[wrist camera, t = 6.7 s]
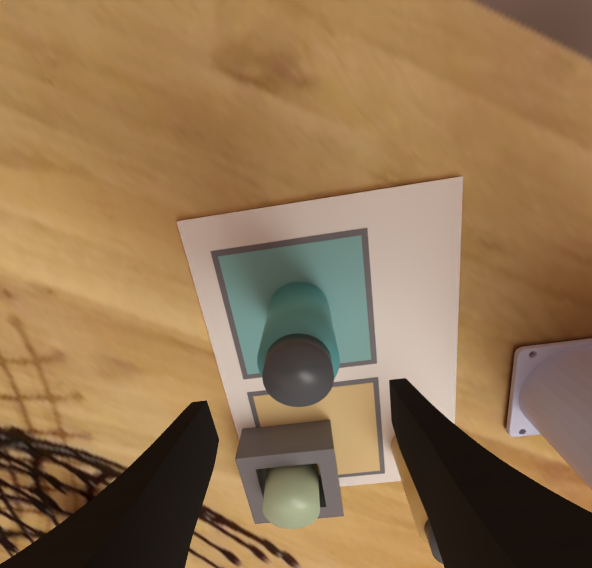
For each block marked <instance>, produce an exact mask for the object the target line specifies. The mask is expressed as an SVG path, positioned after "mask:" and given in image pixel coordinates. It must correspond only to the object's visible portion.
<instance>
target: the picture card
mask: <svg viewBox="0 0 592 568" xmlns="http://www.w3.org/2000/svg"><path fill="white" fill-rule="evenodd" d="M462 194H463V176H460V177H454V178H447V179H441V180H435V181H428V182H422V183H416V184H409V185H403V186H397V187H390V188H384V189H377V190H371V191H365V192H358V193H352V194H346V195H339V196H333V197H327V198H320V199H314V200H308V201H301V202H295V203H289V204H282V205H276V206H270V207H263V208H257V209H250V210H244V211H238V212H231V213H225V214H219V215H212V216H206V217H200V218H193V219H187V220H181V221H177V225H178V229H179V232H180V236H181V239H182V243H183V246H184V250H185V253H186V257H187V260H188V264H189V267H190V271H191V274H192V278H193V281H194V285H195V288H196V292H197V295H198V299H199V302H200V306H201V309H202V313H203V316H204V319H205V323H206V326H207V330H208V333H209V337H210V340H211V344H212V347H213V351H214V354H215V358H216V361H217V365H218V368H219V372H220V375H221V379H222V382H223V386H224V389H225V393H226V396H227V400H228V403H229V407H230V410H231V413H232V417H233V420H234V424H235V427H236V431H237V434H238V438H239V440H240V436H241V432H242V429H243V428H252V427H266V426H275V425H284V424H293V423H303V422H312V421H321V420H330V421H331V428H332V435H333V442H334V449H335V455H336V462H337V469H338V476H339V483H340V487H341V486H351V485H362V484H373V483H383V482H394V481H401V478H400V475H399V472H398V469H397V466H396V463H395V460H394V457H393V453H392V450H391V441H392V439H393V437H394V436H395V432H394V429H393V425H392V422H391V405H390V388H389V380H393V379H402V378H406V379H407V380H408V381H409V382H410V383H411V384H412V385H413V386H414V387H415V388H416V389H417V390H418V391H419V392H420V393H421V394H422V395H423V396H424V397H425V398H426V399H427V400H428V401H429V402H430V403H431V404H432V405H433V406H435V407H436V408H437V409H438V410H439V411H440V412H441V413H442V414H443V415H445V416H446V417H447V418H448V419H449V420H450V421H451V422H452V423H454V424H455V398H456V369H457V340H458V311H459V282H460V252H461V223H462ZM292 282H306V283H309V284H312V285H314V286H316V287H317V288H319V289H320V290H321V291H322V292H323V293H324V295H325V296H326V298H327V301H328V304H329V309H330V313H331V318H332V323H333V328H334V333H335V337H336V342H337V347H338V352H339V357H340V366H339V370H338V373H337V375H336V377H335V378H334V383H333V386H332V389H331V390H330V392H329V393H328V395H327V396H326V397H325V398H324V399H322V400H321V401H319V402H318V403H316V404H313V405H310V406H305V407H292V406H287V405H284V404H282V403H279V402H278V401H276V400H275V399H273V398H272V397H271V396H270V395H269V394H268V392H267V391H266V389H265V387H264V384H263V379H262V377H261V375H260V373H259V370H258V366H257V356H258V351H259V347H260V343H261V338H262V334H263V330H264V326H265V322H266V318H267V313H268V309H269V305H270V301H271V299H272V297H273V295H274V294H275V292H276V291H277V290H278V289H279V288H281V287H282V286H284V285H286V284H289V283H292ZM317 466H318V475H321V473H320V467H319V463H317Z"/></svg>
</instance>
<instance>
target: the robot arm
mask: <svg viewBox="0 0 592 568" xmlns="http://www.w3.org/2000/svg"><path fill="white" fill-rule="evenodd" d="M531 352H532V353H531ZM530 353H531V354H530ZM389 388H390V405H391V422H392V425H393V429H394V432H395V436H396V439H397V442H398V445H399V449H400V451H401V454H402V456H403V459H404V461H405V463H406V466H407V468H408V471H409V473H410V475H411V478H412V480H413V483H414V485H415V487H416V490H417V492H418V495H419V497H420V499H421V502H422V504H423V507H424V509H425V511H426V514H427V517H428V519H429V522H430V525H431V527H432V530H433V533H434V536H435V539H436V543H437V546H438V549H439V552H440V555H441V558H442V561H443V564H444V567H445V568H592V513H591V512H589V511H587V510H585V509H583V508H581V507H580V506H578V505H576V504H574V503H572V502H570V501H569V500H567V499H565V498H563V497H561V496H559V495H558V494H556V493H554V492H552V491H551V490H549V489H547V488H545V487H544V486H542V485H540V484H539V483H537V482H535V481H534V480H532V479H531V478H529V477H527V476H526V475H524V474H522V473H521V472H519V471H518V470H516V469H514V468H513V467H511V466H510V465H508V464H507V463H505V462H504V461H502V460H501V459H499V458H498V457H496V456H495V455H494V454H492V453H491V452H489V451H488V450H487V449H485V448H484V447H482V446H481V445H480V444H478V443H477V442H476V441H475V440H473V439H472V438H471V437H469V436H468V435H467V434H466V433H465V432H463V431H462V430H461V429H460V428H458V427H457V426H456V425H455V424H454V423H452V422H451V421H450V420H449V419H448V418H447V417H446V416H445V415H443V414H442V413H441V412H440V411H439V410H438V409H437V408H436V407H435V406H433V405H432V404H431V403H430V402H429V401H428V400H427V399H426V398H425V397H424V396H423V395H422V394H421V393H420V392H419V391H418V390H417V389H416V388H415V387H414V386H413V385H412V384H411V383H410V382H409V381H408V380H407V379H406V378H402V379H393V380H389ZM506 431H507V433H508V434H509V435H510V436H512V437H519V436H529V435H538V434H541V435H542V436H543V437H544V438H545V439H546V440H547V441H548V443H549V444H550V445H551V446H552V447H553V448H554V449H555V450H556V451H557V452H558V453H559V455H560V456H561V457H562V458H563V459H564V460H565V461H566V462H567V463H568V464H569V465H570V467H571V468H572V469H573V470H574V471H575V472H576V473H577V474H578V475H579V476H580V477H581V478H582V480H583V481H584V482H585V483H586V484H587V485H588V486H589V487H590V488H591V489H592V338H590V339H582V340H573V341H565V342H556V343H548V344H540V345H531V346H523V347H520V348H518V349H517V350H516V351H515V354H514V363H513V372H512V381H511V390H510V399H509V408H508V418H507V427H506ZM218 442H219V438H218V435H217V432H216V428H215V425H214V422H213V419H212V416H211V413H210V409H209V406H208V403H207V401H199V402H192V403H191V404H190V405H189V406H188V407H187V408H186V409H185V410H184V411H183V412H182V413H181V414H180V415H179V416H178V417H177V419H176V420H175V421H174V422H173V423H172V424H171V425H170V426H169V427H168V428H167V429H166V430H165V431H164V432H163V433H162V435H161V436H160V437H159V438H158V439H157V440H156V441H155V442H154V443H153V444H152V445H151V446H150V447H149V448H148V449H147V450H146V451H145V452H144V453H143V454H142V455H141V456H140V457H139V458H138V459H137V460H136V461H135V462H134V463H133V464H132V465H131V466H130V467H129V468H127V469H126V470H125V471H124V472H123V473H122V474H121V475H120V476H119V477H118V478H116V479H115V480H114V481H113V482H112V483H111V484H110V485H108V486H107V487H106V488H105V489H104V490H103V491H101V492H100V493H99V494H98V495H97V496H95V497H94V498H93V499H92V500H90V501H89V502H88V503H87V504H85V505H84V506H83V507H81V508H80V509H79V510H77V511H76V512H75V513H74V514H72V515H71V516H70V517H68V518H67V519H66V520H65V521H63V522H62V523H61V524H59V525H58V526H56V527H55V528H54V529H52V530H51V531H49V532H48V533H47V534H45V535H44V536H42V537H41V538H39V539H38V540H36V541H35V542H34V543H32V544H31V545H29V546H28V547H26V548H25V549H23V550H22V551H20V552H19V553H17V554H16V555H14V556H13V557H11V558H9V559H8V560H6V561H5V562H3V563H1V564H0V568H185V564H186V560H187V556H188V551H189V547H190V543H191V540H192V536H193V532H194V529H195V526H196V523H197V520H198V516H199V513H200V510H201V507H202V504H203V501H204V497H205V494H206V491H207V488H208V485H209V481H210V478H211V475H212V472H213V468H214V464H215V459H216V454H217V448H218Z"/></svg>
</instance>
